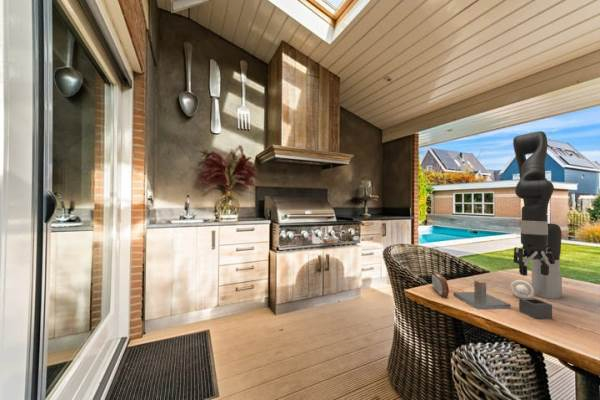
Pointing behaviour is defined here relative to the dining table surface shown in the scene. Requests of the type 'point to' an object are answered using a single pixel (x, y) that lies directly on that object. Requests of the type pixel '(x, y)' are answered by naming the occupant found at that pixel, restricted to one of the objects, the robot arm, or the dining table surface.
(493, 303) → the shaft base
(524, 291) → the ring around a ball
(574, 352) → the dining table surface
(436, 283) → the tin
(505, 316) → the dining table surface
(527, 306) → the dark grey open box
